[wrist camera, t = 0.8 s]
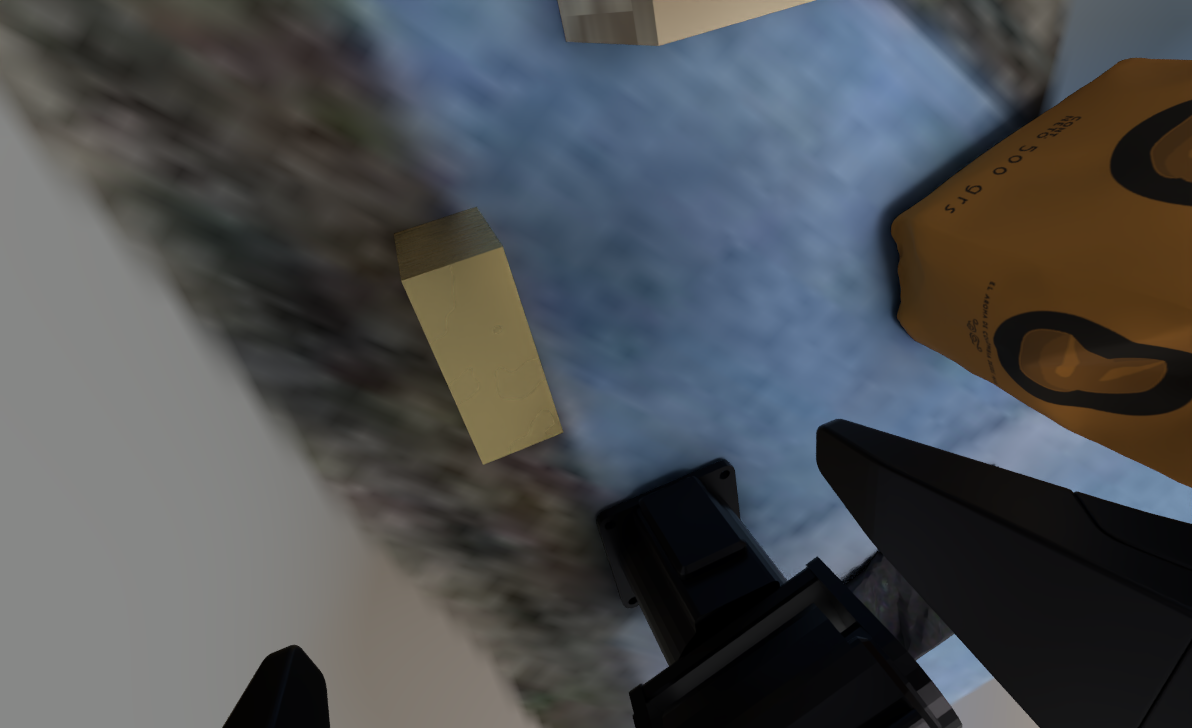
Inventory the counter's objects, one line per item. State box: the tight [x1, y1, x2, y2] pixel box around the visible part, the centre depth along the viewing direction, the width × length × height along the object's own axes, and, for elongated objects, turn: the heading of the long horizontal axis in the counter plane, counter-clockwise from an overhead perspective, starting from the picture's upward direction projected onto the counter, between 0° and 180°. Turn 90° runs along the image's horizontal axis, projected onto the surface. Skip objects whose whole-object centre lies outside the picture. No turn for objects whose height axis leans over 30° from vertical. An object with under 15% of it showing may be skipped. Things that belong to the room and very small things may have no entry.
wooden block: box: [394, 207, 563, 465], centre depth 17 cm, size 6×2×4 cm, turn 13°
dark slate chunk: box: [845, 552, 954, 661], centre depth 37 cm, size 15×22×5 cm
